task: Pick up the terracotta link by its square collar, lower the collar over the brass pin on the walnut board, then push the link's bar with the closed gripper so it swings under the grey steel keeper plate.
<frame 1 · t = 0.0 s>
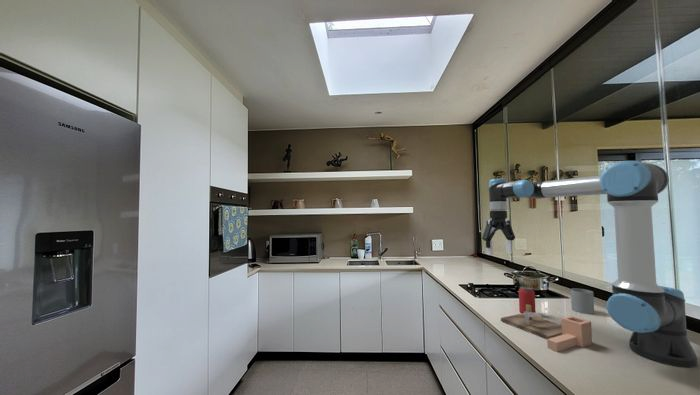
hand: (499, 254, 133), 28 cm above the worktop, fingers open, 13 cm apart
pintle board: (535, 326, 115), on the worktop
link: (563, 346, 98), on the worktop
cup: (582, 311, 135), on the worktop
keeper: (533, 329, 112), resting on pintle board
beer can: (527, 313, 131), on the worktop
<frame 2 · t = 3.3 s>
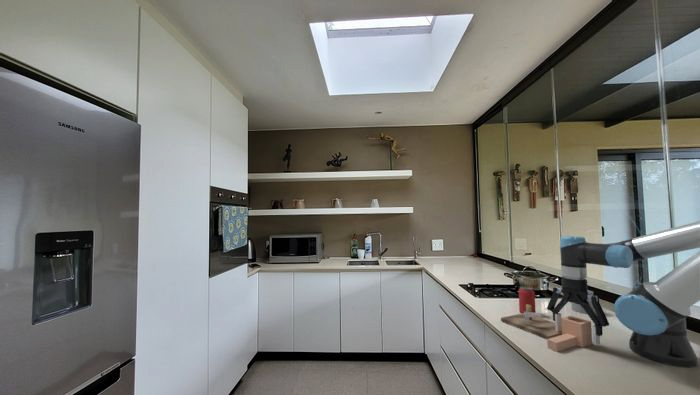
hand: (576, 337, 102), 2 cm above the worktop, fingers open, 11 cm apart
nothing on the worktop moved.
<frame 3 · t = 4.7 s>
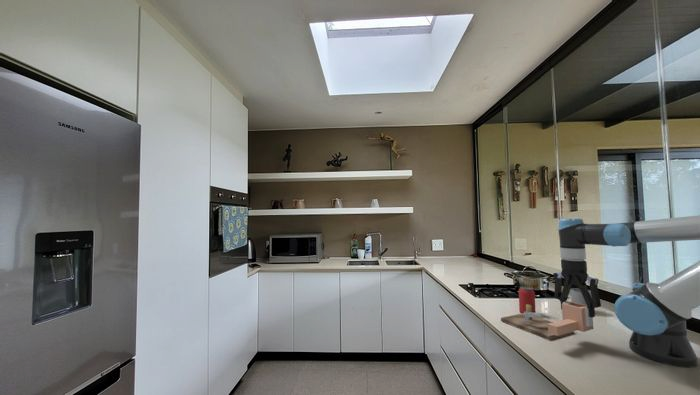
hand: (578, 322, 101), 7 cm above the worktop, fingers closed on link, 6 cm apart
link: (564, 331, 98), point 6 cm above the worktop, touching gripper
everything else where it was.
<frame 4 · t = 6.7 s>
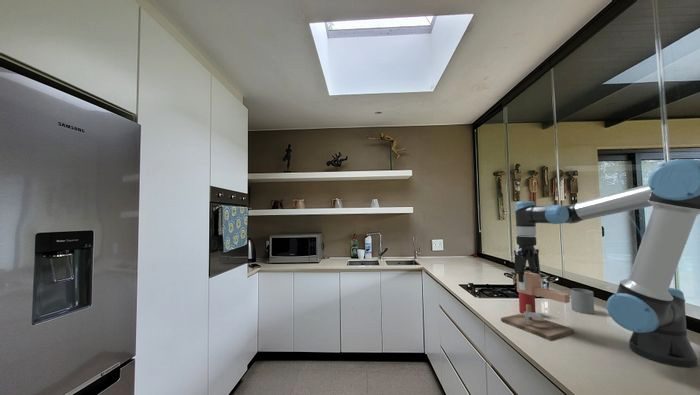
hand: (527, 288, 121), 15 cm above the worktop, fingers closed on link, 6 cm apart
link: (548, 297, 113), point 13 cm above the worktop, touching gripper
everything else where it was.
when the fingers open (3 cm above the worktop, at t = 9.0 s): link stays where it is, resting on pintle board.
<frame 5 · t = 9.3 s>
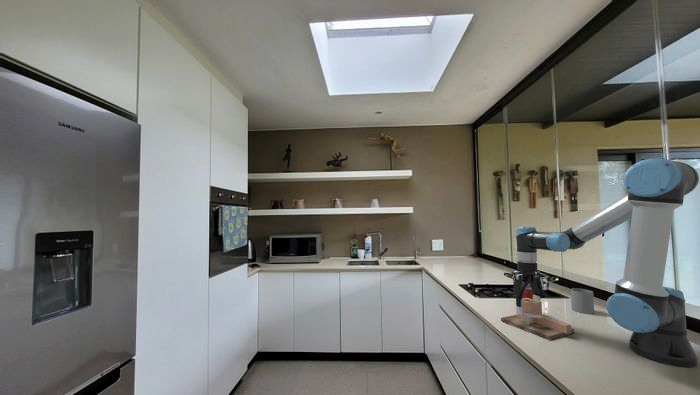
hand: (528, 312, 120), 4 cm above the worktop, fingers open, 10 cm apart
link: (550, 326, 112), point 1 cm above the worktop, touching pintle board
everything else where it was.
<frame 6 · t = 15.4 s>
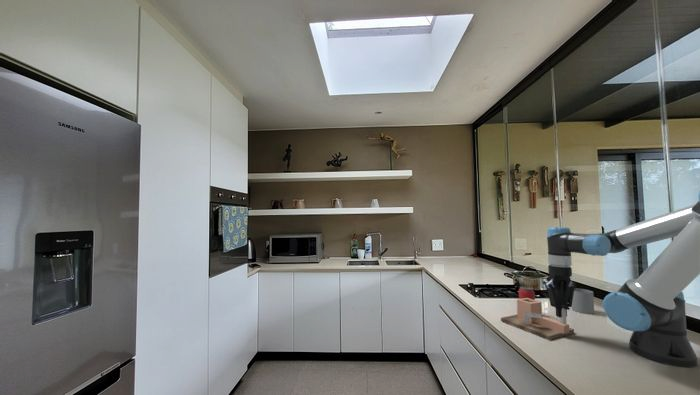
hand: (561, 325, 109), 3 cm above the worktop, fingers closed
link: (548, 326, 112), point 2 cm above the worktop, touching gripper
everything else where it was.
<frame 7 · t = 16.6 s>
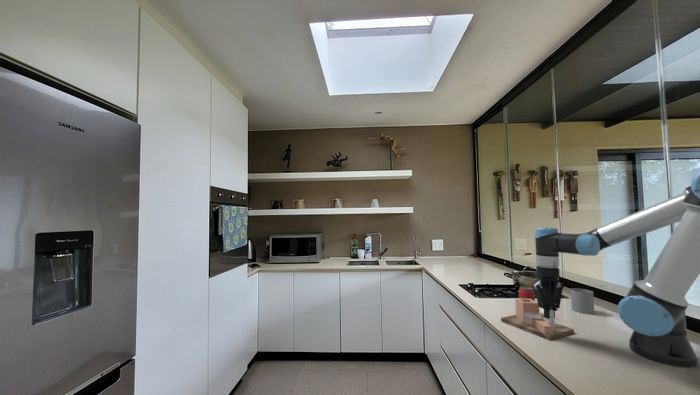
hand: (549, 326, 108), 3 cm above the worktop, fingers closed
link: (538, 327, 111), point 1 cm above the worktop, touching gripper, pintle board
everything else where it was.
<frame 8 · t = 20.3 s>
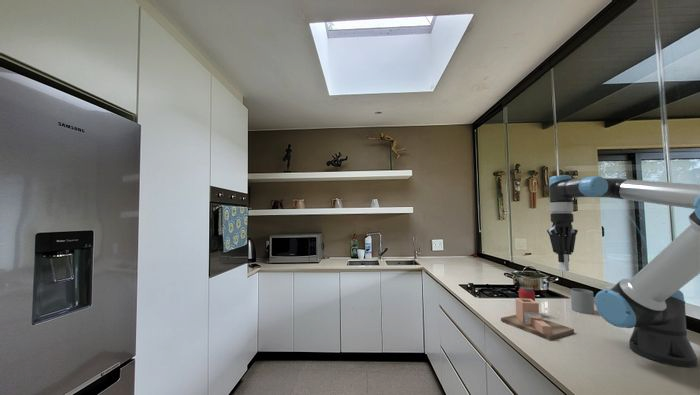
hand: (564, 270, 112), 24 cm above the worktop, fingers closed
link: (537, 327, 111), point 1 cm above the worktop, touching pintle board
everything else where it was.
at the end: link 1.3 cm from the keeper (horizontally); link point 1.5 cm above the worktop; link tilted 0° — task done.
